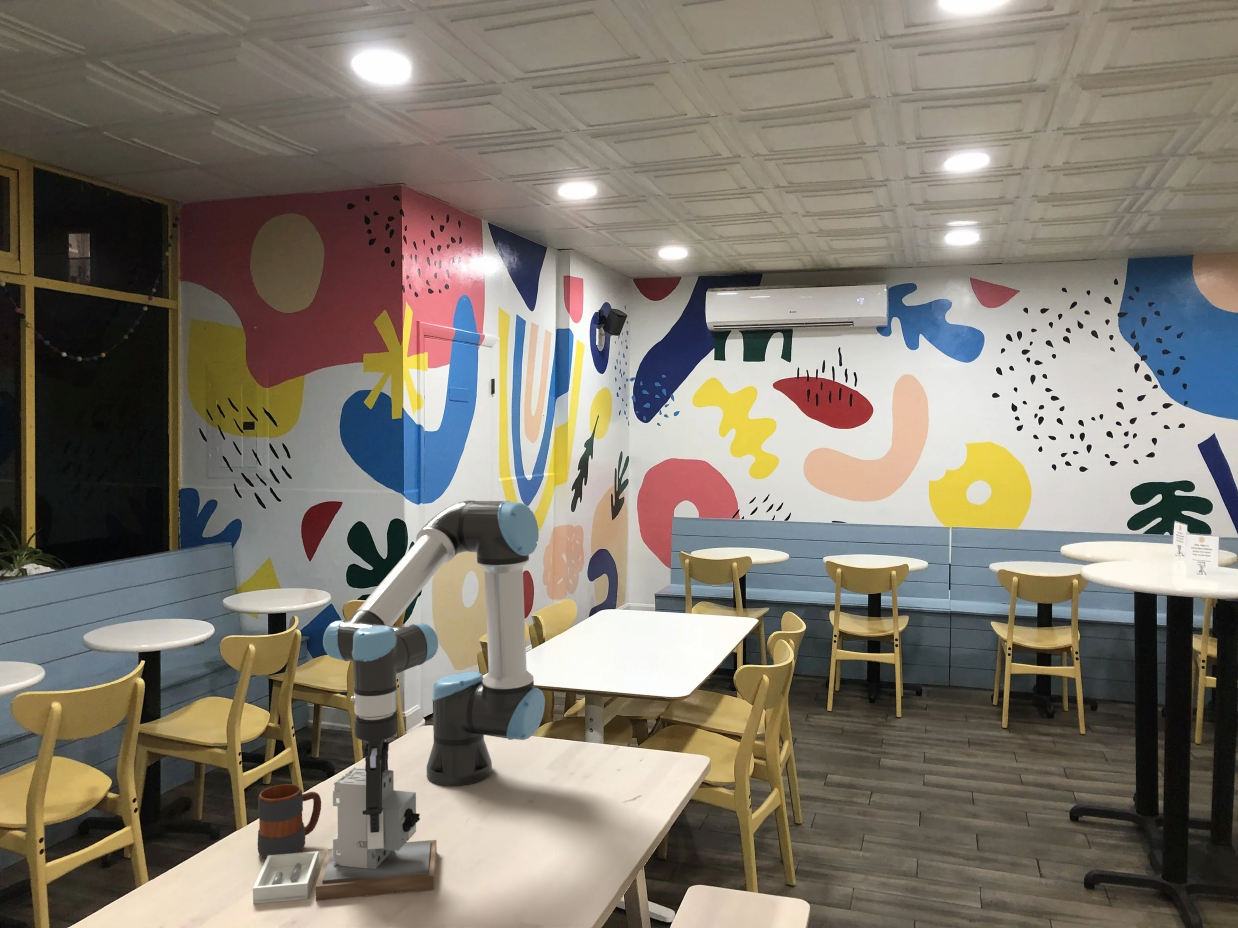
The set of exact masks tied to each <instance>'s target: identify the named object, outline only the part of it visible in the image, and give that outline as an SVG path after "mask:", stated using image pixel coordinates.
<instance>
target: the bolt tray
mask: <svg viewBox="0 0 1238 928" xmlns="http://www.w3.org/2000/svg"><path fill="white" fill-rule="evenodd" d="M319 854H320V853H319V851H318V850H316V851H304V852H300V853H291V854H279V855H268V857H267V859H265V861H264V863H263V865H262V868H261V870H260V872H259V874H258V876H257V878H256V880H255V883H254V885H253V886H252V903H253V904H254V903H255V904H264V903H265V904H267V903H276V902H285V901H286V902H287V901H297V900H298V901H299V900H306V899H309V896H310V893H311V891H312V887H313V885H314V882H315V878H316V875H317V872H318V870H319V866H320V857H319V856H320V855H319Z"/></svg>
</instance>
